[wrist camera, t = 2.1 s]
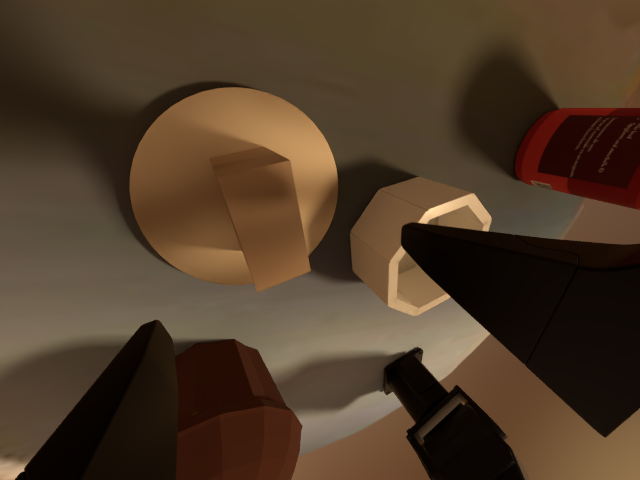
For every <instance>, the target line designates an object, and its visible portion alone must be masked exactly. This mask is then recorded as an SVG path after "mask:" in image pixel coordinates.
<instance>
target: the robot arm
mask: <svg viewBox="0 0 640 480" xmlns="http://www.w3.org/2000/svg"><path fill="white" fill-rule="evenodd" d="M401 246H402V248H403V249H404V250H405V251H406V252H407V253H408V255H409V256H410V257H411V258H412V259H413V260H414V261H415V262H416V264H417V265H418V266H419V267H420V268H421V269H422V270H423V271H424V272H425V273H426V274H427V275H428V276H429V277H430V278H431V279H432V280H433V281H434V282H435V283H436V284H437V285H438V286H439V287H441V288H442V289H443V290H444V291H445V292H446V293H447V294H448V295H449V296H450V297H451V298H452V299H454V300H455V301H456V302H457V303H458V304H459V305H460V306H461V307H462V308H463V309H464V310H466V311H467V312H468V313H469V314H470V315H471V316H472V317H473V318H474V319H475V320H476V321H478V322H479V323H480V324H481V325H482V326H483V327H484V328H485V329H486V330H487V331H488V332H489V333H491V334H492V335H493V336H494V337H495V338H496V339H497V340H498V341H499V342H500V343H502V344H503V345H504V346H505V347H506V348H507V349H508V350H509V351H510V352H511V353H512V354H513V355H515V356H516V357H517V358H518V359H519V360H520V361H521V362H522V363H523V364H525V366H526V367H527V368H528V369H530V370H531V371H532V372H533V373H534V374H535V375H536V376H537V377H539V379H540V380H541V381H542V382H544V383H545V384H546V385H547V386H548V387H549V388H550V389H551V390H552V391H553V392H555V394H557V395H558V396H559V397H560V398H561V399H562V400H563V401H564V402H565V403H566V404H567V405H569V406H570V407H571V408H572V409H573V410H574V411H575V412H576V413H577V414H578V415H579V416H580V417H582V418H583V419H584V420H585V421H586V422H587V423H588V424H589V425H590V426H591V427H592V428H594V429H595V430H596V431H597V432H598V433H599V434H601V435H602V436H603V437H607V436H608V435H609V434H611V433H612V432H613V431H614V430H615V429H616V428H617V427H619V426H620V425H621V424H622V423H623V422H624V421H626V420H627V419H628V418H629V417H630V416H631V415H632V414H633V413H635V412H636V411H637V410H638V409H639V408H640V244H631V245H620V244H605V243H592V242H581V241H569V240H559V239H548V238H539V237H530V236H521V235H512V234H505V233H497V232H489V231H480V230H472V229H464V228H456V227H448V226H440V225H432V224H424V223H415V222H410V223H407V224H405V225H403V226H402V228H401ZM422 355H423V350H422V349H421V348H419V349H417V350H415V351H414V352H412V353H410V354H409V355H407V356H405V357H404V358H402V359H400V360H399V361H397V362H395V363H393V364H392V365H390V366H388V367H387V368H386V369H385V371H384V393H385V394H386V395H388V394H390V393H391V392H394V394H395V395H396V396H397V398H398V399H399V400H400V402H401V403H402V405H403V406H404V407H405V409H406V410H407V412H408V413H409V414H410V416H411V417H412V419H413V420H414V421H415V423H416V424H415V425H414V426H413V427H412V428H411V429H408V430H407V433H408V435H407V437H406V438H407V439H408V441H409V442H410V444H411V445H412V447H413V448H414V450H415V451H416V453H417V455H418V457H419V459H420V460H421V463H422V465H423V466H424V468H425V470H426V472H427V474H428V476H429V478H430V479H431V480H529V478H528V475H527V473H526V470H525V468H524V466H523V465H522V463H521V462H520V460H519V459H518V458H517V456H516V455H515V453H514V452H513V450H512V449H511V448H510V446H509V445H508V444H507V443H506V442H505V440H506V439H507V438H508V437H507V436H506V435H505V433H504V432H503V431H502V430H501V429H500V428H499V426H498V425H497V424H496V423H495V422H494V421H493V420H492V419H491V418H490V417H489V416H488V415H487V414H486V413H485V412H484V411H483V410H482V409H481V408H480V407H479V406H478V405H477V404H476V403H475V402H474V401H473V400H472V399H471V398H470V397H469V396H468V395H467V394H466V393H465V392H464V391H463V390H461V388H460V387H459V386H458V385H456V386H455V387H454V389H453V390H452V391H451V392H450V393H448V392H447V390H446V389H445V388H444V387H443V386H442V385H441V384H440V383H439V382H438V381H437V379H436V378H435V377H434V376H433V375H432V374H431V373H430V372H429V371H428V369H427V368H426V367H425V366H424V365H423V364H422V363H421V362H422ZM462 402H464V403H465V405H463V404H461V403H462ZM177 429H178V384H177V374H176V365H175V355H174V346H173V341H172V338H171V336H170V335H169V333H168V332H167V330H166V329H165V328H164V326H163V325H162V323H161V322H160V321H159V320H154V321H151V322H148V323H146V324H143V325H142V326H140V328H139V329H138V330H137V331H136V332H135V334H134V335H133V336H132V337H131V339H130V340H129V341H128V342H127V343H126V345H125V346H124V347H123V348H122V350H121V351H120V352H119V353H118V354H117V356H116V357H115V358H114V359H113V360H112V362H111V363H110V364H109V365H108V367H107V368H106V369H105V370H104V371H103V373H102V374H101V375H100V376H99V378H98V379H97V380H96V381H95V382H94V384H93V385H92V386H91V387H90V389H89V390H88V391H87V392H86V393H85V395H84V396H83V397H82V398H81V400H80V401H79V402H78V403H77V404H76V406H75V407H74V408H73V409H72V411H71V412H70V413H69V414H68V415H67V417H66V418H65V419H64V420H63V422H62V423H61V424H60V425H59V426H58V428H57V429H56V430H55V431H54V433H53V434H52V435H51V436H50V437H49V439H48V440H47V441H46V442H45V444H44V445H43V446H42V447H41V448H40V450H39V451H38V452H37V453H36V455H35V456H34V457H33V458H32V459H31V461H30V462H29V463H28V464H27V465H26V467H25V469H24V471H25V472H21V473H20V474H19V475H18V476H17V478H16V479H15V480H176V470H177ZM422 439H423V440H424V441H423V440H422Z"/></svg>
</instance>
